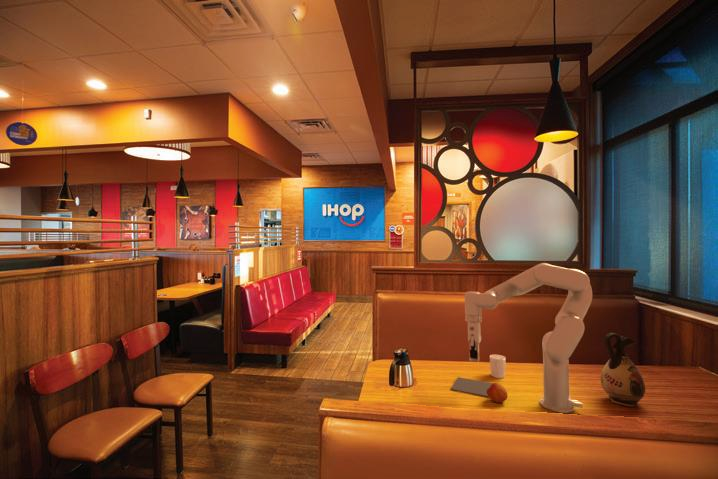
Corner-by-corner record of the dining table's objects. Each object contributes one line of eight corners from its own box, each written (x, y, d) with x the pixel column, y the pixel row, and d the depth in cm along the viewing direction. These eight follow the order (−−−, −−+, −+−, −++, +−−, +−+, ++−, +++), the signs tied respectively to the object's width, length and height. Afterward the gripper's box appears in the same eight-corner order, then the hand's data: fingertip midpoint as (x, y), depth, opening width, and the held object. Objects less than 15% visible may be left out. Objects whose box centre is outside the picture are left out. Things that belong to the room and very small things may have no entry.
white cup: (486, 374, 178) (486, 355, 178) (497, 372, 181) (497, 353, 182) (498, 379, 171) (498, 360, 171) (509, 377, 174) (509, 358, 174)
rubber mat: (494, 384, 165) (494, 383, 165) (490, 397, 151) (490, 396, 151) (457, 378, 173) (457, 376, 173) (450, 389, 159) (450, 388, 159)
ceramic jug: (624, 393, 154) (623, 328, 155) (655, 409, 139) (653, 338, 139) (589, 394, 154) (587, 329, 154) (616, 411, 138) (615, 338, 139)
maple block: (479, 359, 158) (478, 340, 158) (478, 362, 154) (477, 342, 154) (470, 358, 160) (470, 339, 160) (469, 360, 156) (468, 341, 156)
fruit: (494, 395, 153) (493, 378, 153) (510, 402, 147) (510, 384, 147) (484, 400, 148) (483, 382, 149) (501, 407, 142) (500, 388, 142)
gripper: (479, 322, 148) (480, 363, 148) (483, 315, 163) (484, 352, 163) (462, 320, 152) (463, 361, 151) (467, 314, 167) (468, 350, 166)
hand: (474, 356), depth 157 cm, fingers closed on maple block, 4 cm apart
